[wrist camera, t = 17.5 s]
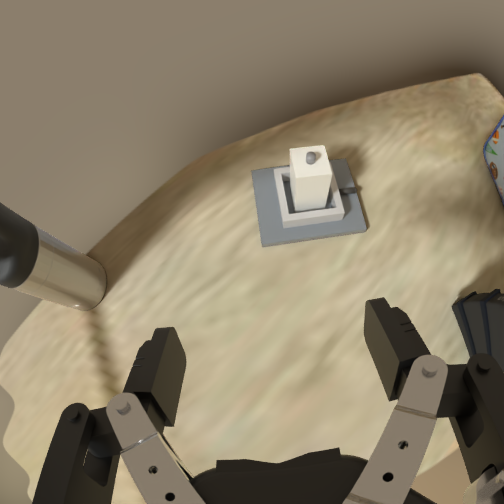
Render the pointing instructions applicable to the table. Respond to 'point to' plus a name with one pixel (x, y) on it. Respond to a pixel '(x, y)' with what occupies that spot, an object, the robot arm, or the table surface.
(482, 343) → the magazine
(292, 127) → the table surface
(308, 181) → the block
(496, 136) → the lunch box
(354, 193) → the charging dock
